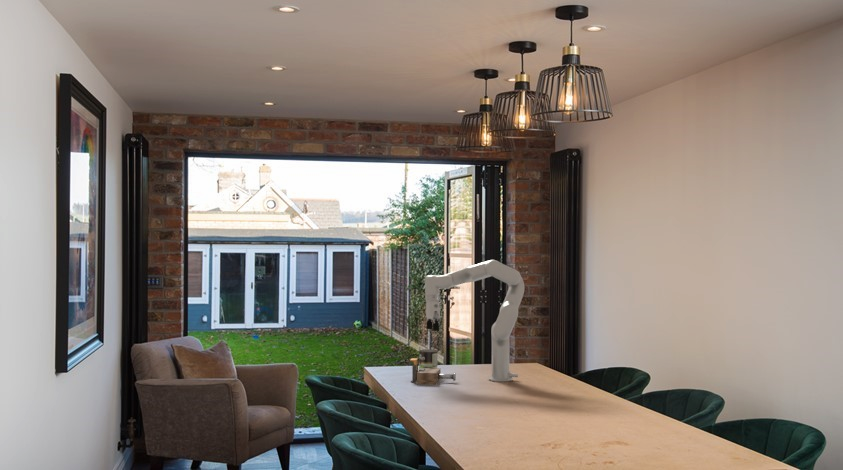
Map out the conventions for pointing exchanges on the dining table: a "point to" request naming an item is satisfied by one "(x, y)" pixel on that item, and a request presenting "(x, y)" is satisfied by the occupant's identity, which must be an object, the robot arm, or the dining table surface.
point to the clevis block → (425, 375)
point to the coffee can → (427, 358)
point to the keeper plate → (414, 361)
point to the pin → (447, 376)
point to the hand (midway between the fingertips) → (432, 329)
